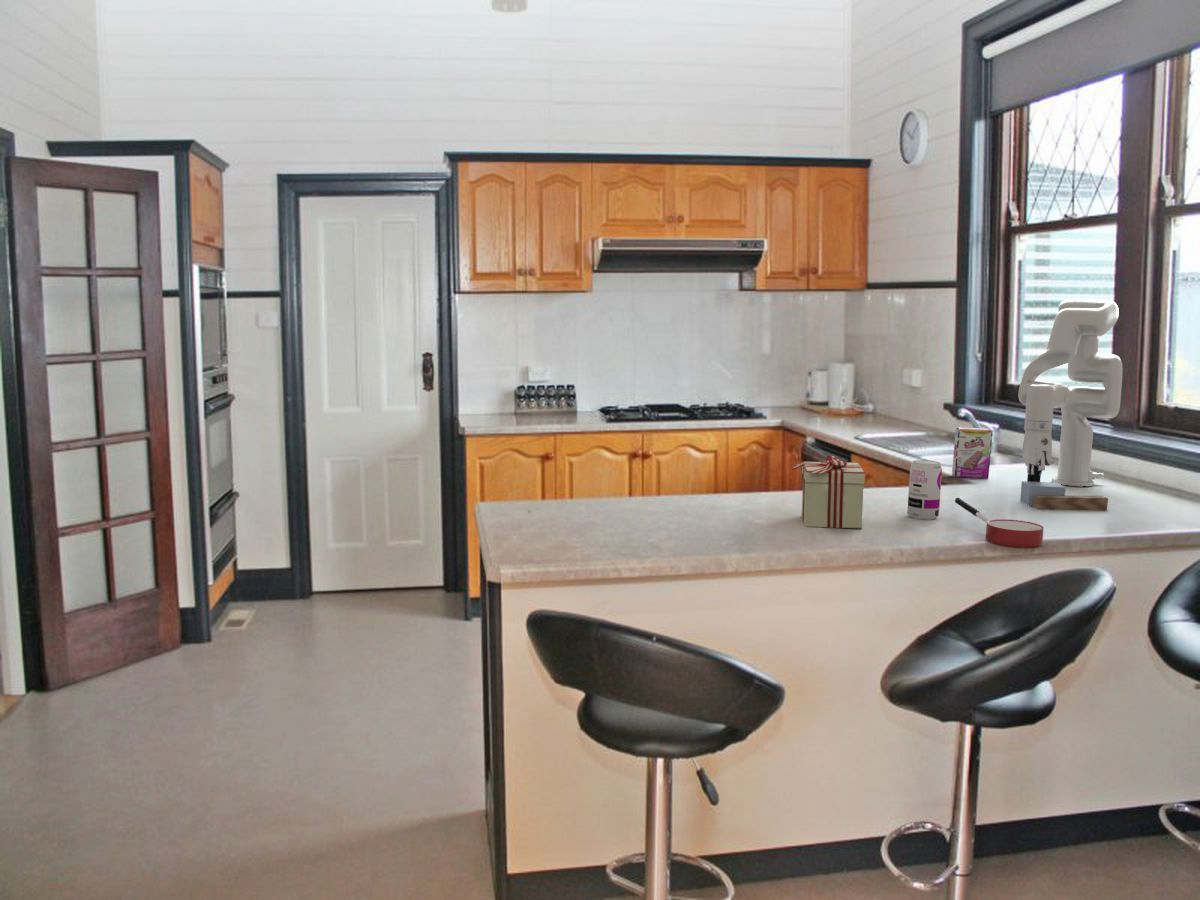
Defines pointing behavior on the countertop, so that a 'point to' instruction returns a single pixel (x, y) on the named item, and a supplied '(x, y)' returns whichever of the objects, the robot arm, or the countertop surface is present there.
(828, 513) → the gift box
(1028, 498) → the block
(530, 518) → the countertop surface
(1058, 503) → the board
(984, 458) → the candy bar box
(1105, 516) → the countertop surface
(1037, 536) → the frying pan
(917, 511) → the supplement can
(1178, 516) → the countertop surface
